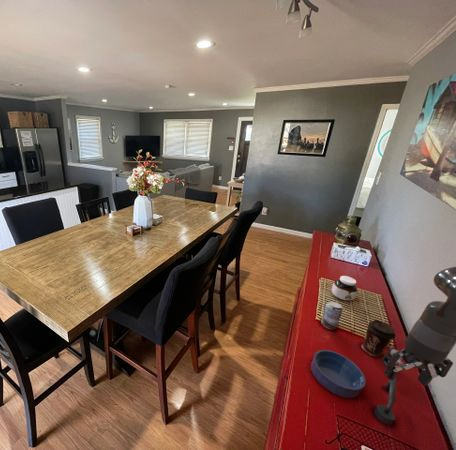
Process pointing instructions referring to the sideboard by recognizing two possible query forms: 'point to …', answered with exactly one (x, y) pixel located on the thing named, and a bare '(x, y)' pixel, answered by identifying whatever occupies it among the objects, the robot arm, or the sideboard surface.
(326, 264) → the sideboard surface
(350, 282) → the spread jar
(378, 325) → the coffee cup
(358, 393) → the bowl
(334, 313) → the beverage can
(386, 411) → the door handle
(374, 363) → the sideboard surface
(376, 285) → the sideboard surface
